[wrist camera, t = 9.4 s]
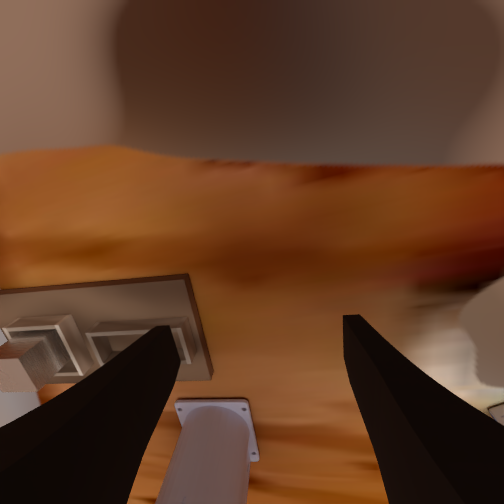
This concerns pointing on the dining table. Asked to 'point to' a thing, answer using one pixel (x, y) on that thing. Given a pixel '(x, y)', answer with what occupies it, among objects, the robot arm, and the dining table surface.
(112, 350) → the socket board
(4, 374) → the square peg
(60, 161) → the dining table surface
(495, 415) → the medicine box
